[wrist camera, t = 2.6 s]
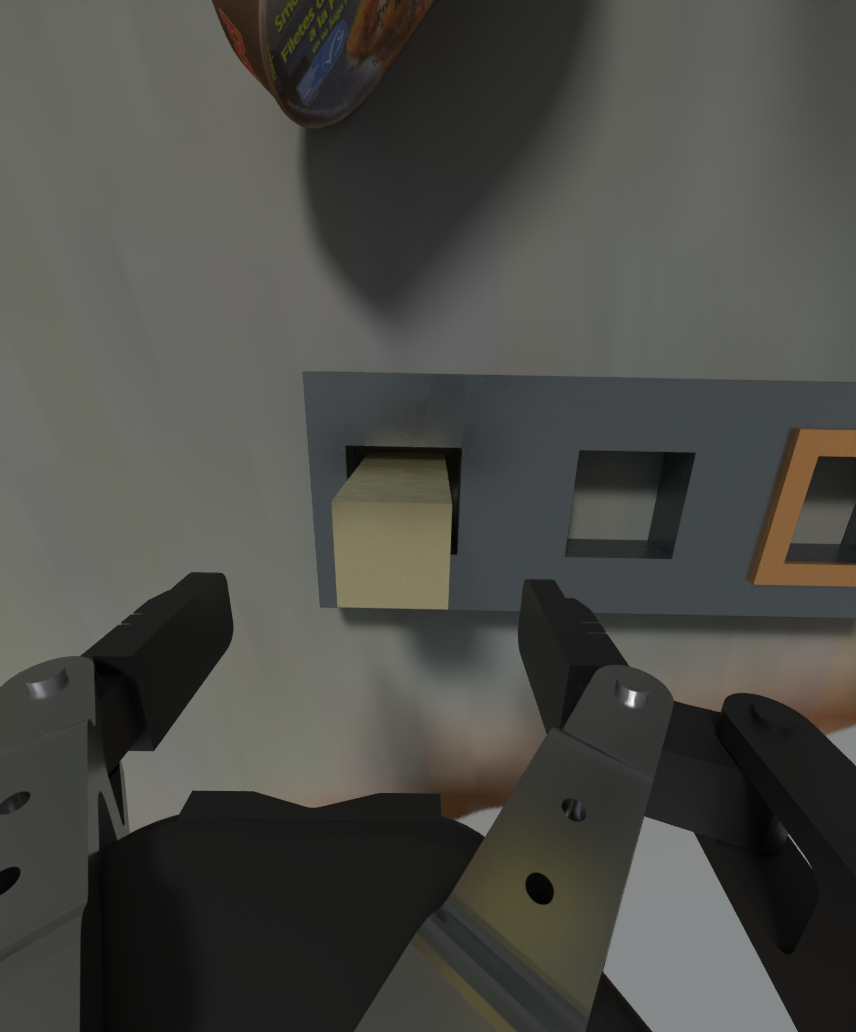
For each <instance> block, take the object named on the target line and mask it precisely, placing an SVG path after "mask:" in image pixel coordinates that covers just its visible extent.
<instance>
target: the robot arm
mask: <svg viewBox="0 0 856 1032" xmlns="http://www.w3.org/2000/svg"><path fill="white" fill-rule="evenodd" d="M232 636H233V619H232V612H231V605H230V598H229V592H228V585H227V580H226V577H225V575H224V574H223V573H206V572H192V573H190V574H188V575H187V576H186V577H185V578H183V579H182V580H181V581H180V582H179V583H178V584H176V585H175V586H174V587H173V588H172V589H171V590H168V591H166V592H164V593H162V594H160V595H158V596H156V597H154V598H152V599H150V600H148V601H147V602H146V603H144V604H143V605H142V606H141V607H139V608H138V609H137V610H136V611H135V612H134V614H133V615H130V616H128V617H127V618H126V619H125V620H124V621H122V622H121V625H118V626H116V627H115V628H114V629H113V630H111V631H110V632H109V633H108V634H107V635H105V636H104V637H103V638H102V639H100V640H99V641H98V642H97V643H96V644H94V645H93V646H92V647H91V648H89V649H88V650H87V651H86V652H85V653H83V654H82V655H81V656H69V657H62V658H57V659H53V660H49V661H46V662H43V663H40V664H37V665H35V666H32V667H30V668H28V669H26V670H24V671H22V672H20V673H18V674H17V675H15V676H14V677H12V678H11V679H9V680H8V681H7V682H5V683H4V684H3V685H2V686H1V687H0V1032H652V1031H651V1030H650V1028H649V1027H648V1026H647V1025H646V1024H645V1022H644V1021H643V1020H642V1019H641V1017H640V1016H639V1015H638V1014H637V1013H636V1011H635V1010H634V1009H633V1008H632V1006H631V1005H630V1004H629V1003H628V1002H627V1000H626V999H625V998H624V997H623V996H622V994H621V993H620V992H619V991H618V989H617V988H616V987H615V986H614V985H613V984H612V982H611V981H610V980H609V979H608V977H607V976H606V975H605V974H604V973H603V969H604V965H605V961H606V958H607V954H608V950H609V947H610V943H611V939H612V935H613V932H614V928H615V924H616V920H617V916H618V913H619V909H620V905H621V902H622V898H623V894H624V890H625V887H626V883H627V879H628V875H629V872H630V868H631V864H632V861H633V857H634V853H635V849H636V845H637V842H638V838H639V834H640V830H641V827H642V823H643V819H644V816H645V817H649V818H651V819H655V820H658V821H661V822H664V823H667V824H670V825H673V826H676V827H680V828H683V829H686V830H689V831H692V832H694V834H695V836H696V837H697V839H698V841H699V843H700V845H701V847H702V849H703V851H704V853H705V855H706V857H707V858H708V860H709V862H710V864H711V866H712V868H713V870H714V872H715V874H716V876H717V878H718V880H719V881H720V883H721V885H722V887H723V889H724V891H725V893H726V895H727V897H728V898H729V901H730V902H731V904H732V906H733V908H734V910H735V912H736V914H737V916H738V918H739V920H740V921H741V923H742V925H743V927H744V929H745V931H746V933H747V935H748V937H749V939H750V941H751V943H752V945H753V946H754V948H755V950H756V952H757V954H758V956H759V958H760V959H761V962H762V964H763V966H764V967H765V969H766V971H767V973H768V975H769V977H770V979H771V981H772V983H773V985H774V987H775V989H776V990H777V992H778V994H779V996H780V998H781V1000H782V1002H783V1004H784V1006H785V1008H786V1010H787V1011H788V1013H789V1015H790V1017H791V1019H792V1021H793V1023H794V1025H795V1027H796V1029H797V1031H798V1032H856V766H855V765H854V764H853V763H852V762H851V761H850V760H849V759H848V758H847V757H846V756H845V755H844V754H843V753H842V752H841V751H840V750H839V749H838V748H837V747H836V746H835V745H834V744H833V743H832V742H831V741H830V740H829V739H828V738H827V737H826V736H825V735H824V734H823V733H822V732H821V731H820V730H819V729H818V728H817V727H816V726H814V725H813V724H812V723H811V722H810V721H809V720H808V719H807V718H805V717H804V716H802V715H801V714H800V713H798V712H797V711H795V710H793V709H792V708H790V707H788V706H786V705H784V704H782V703H780V702H777V701H775V700H772V699H770V698H767V697H763V696H760V695H755V694H749V693H737V694H732V695H730V696H728V697H727V698H726V699H725V701H724V703H723V706H722V710H721V712H716V711H712V710H708V709H704V708H700V707H695V706H691V705H687V704H683V703H680V702H676V701H674V700H673V697H672V695H671V693H670V691H669V690H668V688H667V687H666V686H665V685H664V684H663V683H662V682H660V681H659V680H658V679H656V678H655V677H653V676H652V675H650V674H648V673H646V672H644V671H642V670H639V669H636V668H633V667H630V666H629V665H628V663H627V662H626V661H625V659H624V658H623V656H622V655H621V653H620V652H619V650H618V649H617V648H616V646H615V645H614V643H613V642H612V640H611V639H610V637H609V636H608V635H607V634H605V630H604V629H603V627H602V626H601V624H598V620H597V619H596V617H595V616H594V614H593V613H592V611H591V610H590V609H589V608H588V607H586V606H585V605H584V604H582V603H581V602H579V601H578V600H577V599H575V598H565V596H564V594H563V593H562V591H561V590H560V588H559V586H558V585H557V583H556V582H555V580H553V579H525V581H524V584H523V589H522V599H521V608H520V617H519V627H518V644H519V651H520V655H521V658H522V661H523V664H524V667H525V670H526V673H527V676H528V679H529V682H530V685H531V688H532V691H533V694H534V697H535V700H536V703H537V706H538V709H539V712H540V715H541V718H542V721H543V724H544V727H545V730H546V733H547V736H546V737H545V739H544V741H543V742H542V744H541V746H540V747H539V749H538V751H537V752H536V754H535V756H534V757H533V759H532V760H531V762H530V764H529V765H528V767H527V769H526V770H525V772H524V774H523V775H522V777H521V779H520V780H519V782H518V784H517V785H516V787H515V789H514V790H513V792H512V794H511V795H510V797H509V799H508V800H507V802H506V804H505V805H504V807H503V808H502V810H501V812H500V813H499V815H498V817H497V818H496V820H495V822H494V824H493V825H492V827H491V828H490V830H489V832H488V833H487V835H486V837H484V836H483V835H481V834H480V833H479V832H477V831H475V830H473V829H472V828H470V827H468V826H467V825H464V824H462V823H460V822H458V821H455V820H453V819H450V818H447V817H443V816H441V803H440V794H413V793H378V794H374V795H369V796H365V797H361V798H356V799H352V800H348V801H344V802H339V803H335V804H331V805H327V806H322V807H317V808H309V807H305V806H301V805H298V804H294V803H291V802H288V801H284V800H281V799H278V798H274V797H271V796H267V795H264V794H261V793H257V792H254V791H192V793H191V794H190V796H189V798H188V800H187V802H186V803H185V805H184V807H183V809H182V810H181V812H180V814H179V815H175V816H171V817H168V818H165V819H162V820H159V821H156V822H154V823H152V824H149V825H147V826H145V827H142V828H140V829H138V830H136V831H134V832H132V833H130V831H129V820H128V809H127V799H126V788H125V778H124V770H123V766H122V763H121V759H122V758H123V757H124V755H125V754H126V753H127V752H128V751H154V750H155V749H156V748H157V746H158V745H159V743H160V742H161V741H162V739H163V738H164V736H165V735H166V734H167V732H168V731H169V729H170V728H171V727H172V725H173V724H174V722H175V721H176V720H177V718H178V717H179V716H180V714H181V713H182V711H183V710H184V709H185V707H186V706H187V704H188V703H189V702H190V700H191V699H192V697H193V696H194V695H195V693H196V692H197V690H198V689H199V688H200V686H201V685H202V684H203V682H204V681H205V679H206V678H207V677H208V675H209V674H210V672H211V671H212V670H213V668H214V667H215V665H216V664H217V663H218V661H219V660H220V658H221V657H222V656H223V654H224V653H225V651H226V650H227V649H228V647H229V645H230V643H231V640H232ZM788 834H789V835H790V836H791V837H792V839H793V840H794V842H795V843H796V844H797V845H798V847H799V848H800V850H801V851H802V853H803V854H804V855H805V857H806V858H807V860H808V862H809V863H810V865H811V867H812V868H811V867H810V865H809V864H808V863H807V861H806V860H805V859H804V857H803V856H802V854H801V853H800V852H799V850H798V849H797V847H796V846H795V845H794V843H793V842H792V840H791V839H790V838H789V836H788ZM812 869H813V870H812Z"/></svg>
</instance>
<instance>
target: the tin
mask: <svg viewBox="0 0 856 1032" xmlns="http://www.w3.org/2000/svg"><path fill="white" fill-rule="evenodd" d="M435 1H436V0H212V2H213V5H214V7H215V10H216V13H217V15H218V18H219V20H220V23H221V25H222V28H223V30H224V32H225V35H226V37H227V39H228V41H229V43H230V45H231V47H232V48H233V50H234V52H235V53H236V55H237V56H238V58H239V59H240V61H241V62H242V63H243V64H244V66H245V67H246V68H247V69H248V70H249V71H250V73H251V74H252V75H253V76H254V77H255V78H256V79H257V80H258V81H259V82H260V83H261V84H262V85H263V86H264V87H265V88H266V89H267V90H268V91H269V92H270V93H271V95H272V96H273V97H274V98H275V99H276V101H277V103H278V105H279V106H280V108H281V109H282V111H283V112H284V113H285V114H286V115H287V116H288V117H289V118H290V119H291V120H292V121H294V122H295V123H296V124H298V125H300V126H303V127H306V128H317V129H318V128H324V127H327V126H330V125H333V124H335V123H337V122H339V121H341V120H343V119H344V118H346V117H347V116H348V115H349V114H351V113H352V112H353V111H354V110H356V109H357V108H358V107H359V106H360V105H361V104H362V103H363V102H364V101H365V100H366V98H367V97H368V96H369V95H370V94H371V93H372V91H373V90H374V89H375V87H376V86H377V84H378V83H379V82H380V80H381V79H382V78H383V76H384V75H385V73H386V72H387V71H388V69H389V68H390V66H391V65H392V63H393V62H394V60H395V59H396V57H397V56H398V55H399V53H400V52H401V50H402V49H403V47H404V46H405V44H406V43H407V41H408V40H409V38H410V37H411V36H412V34H413V33H414V32H415V30H416V29H417V27H418V26H419V24H420V23H421V21H422V20H423V18H424V17H425V15H426V14H427V13H428V11H429V9H430V8H431V7H432V5H433V4H434V2H435Z"/></svg>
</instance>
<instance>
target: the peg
mask: <svg viewBox="0 0 856 1032" xmlns="http://www.w3.org/2000/svg"><path fill="white" fill-rule="evenodd" d="M331 504H332V521H333V538H334V556H335V573H336V590H337V607H354V608H403V609H448V598H449V573H450V548H451V523H452V499H451V493H450V487H449V480H448V474H447V468H446V461H445V455H444V453H401V452H369V453H368V454H367V455H366V457H365V458H364V459H363V461H362V462H361V463H360V465H359V466H358V467H357V468H356V470H355V471H354V472H353V474H352V475H351V476H350V478H349V479H348V480H347V482H346V483H345V484H344V485H343V487H342V488H341V489H340V491H339V492H338V493H337V495H336V496H335V497H334V499H333V500H332V501H331Z"/></svg>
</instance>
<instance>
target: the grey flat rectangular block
mask: <svg viewBox="0 0 856 1032" xmlns="http://www.w3.org/2000/svg"><path fill="white" fill-rule="evenodd" d="M303 382H304V396H305V409H306V423H307V437H308V450H309V464H310V477H311V491H312V504H313V518H314V532H315V545H316V559H317V572H318V586H319V599H320V607H322V608H354V607H337V590H336V573H335V556H334V538H333V521H332V504H331V501H332V500H333V499H334V497H335V496H336V495H337V493H338V492H339V491H340V489H341V488H342V487H343V485H344V484H345V483H346V482H347V480H348V479H349V478H350V476H351V475H352V474H353V472H354V471H355V470H356V466H355V446H397V447H447V448H459V449H458V473H457V496H456V519H455V537H451V548H450V573H449V598H448V609H422V610H472V611H520V608H521V599H522V589H523V584H524V581H525V579H553V580H555V582H556V583H557V585H558V586H559V588H560V590H561V591H562V593H563V594H564V596H565V598H575V599H577V600H578V601H579V602H581V603H582V604H584V605H585V606H586V607H588V608H589V609H590V610H591V611H592V613H622V614H672V615H722V616H772V617H822V618H856V506H855V508H854V511H853V514H852V516H851V519H850V522H849V525H848V527H847V530H846V533H845V535H844V538H843V541H842V544H793V543H791V540H792V536H793V533H794V530H795V527H796V524H797V521H798V518H799V515H800V512H801V509H802V506H803V503H804V499H805V496H806V493H807V490H808V487H809V484H810V481H811V478H812V475H813V472H814V469H815V466H816V462H817V459H818V456H839V457H856V382H808V381H759V380H709V379H660V378H610V377H561V376H512V375H462V374H413V373H363V372H303ZM579 450H596V451H646V452H666V455H665V460H664V465H663V470H662V475H661V480H660V484H659V489H658V494H657V499H656V504H655V509H654V514H653V519H652V524H651V528H650V533H649V538H648V541H643V540H593V539H567V536H568V529H569V521H570V514H571V507H572V499H573V492H574V485H575V477H576V470H577V463H578V455H579ZM372 609H403V608H372Z"/></svg>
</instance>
